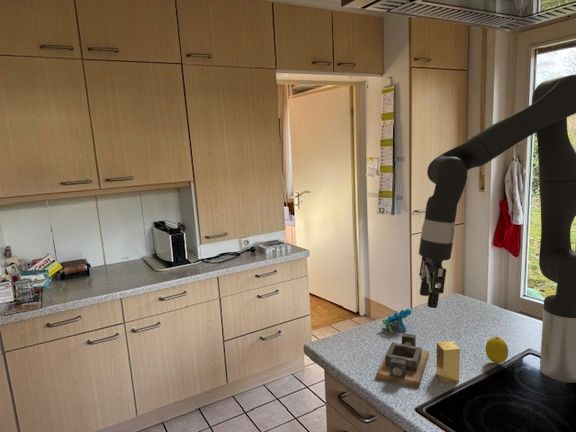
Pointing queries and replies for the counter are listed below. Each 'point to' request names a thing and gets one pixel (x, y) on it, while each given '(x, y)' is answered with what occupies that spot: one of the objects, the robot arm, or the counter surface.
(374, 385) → the counter surface
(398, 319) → the blue-green animal figure
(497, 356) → the lemon
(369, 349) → the counter surface
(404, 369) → the shaft rig
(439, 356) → the block
